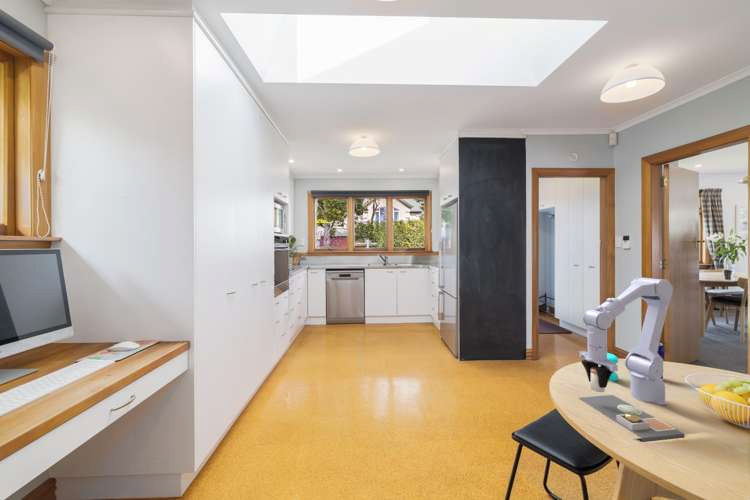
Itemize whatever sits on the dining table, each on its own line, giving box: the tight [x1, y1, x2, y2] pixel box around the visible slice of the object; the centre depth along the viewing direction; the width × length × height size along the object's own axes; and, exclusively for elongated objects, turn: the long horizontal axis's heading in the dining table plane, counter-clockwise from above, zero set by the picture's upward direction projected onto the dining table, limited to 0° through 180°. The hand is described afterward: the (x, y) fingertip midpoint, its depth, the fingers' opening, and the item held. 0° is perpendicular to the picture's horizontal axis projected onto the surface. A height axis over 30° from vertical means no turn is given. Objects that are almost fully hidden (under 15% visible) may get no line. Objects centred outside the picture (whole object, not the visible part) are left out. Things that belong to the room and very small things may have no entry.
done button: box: [625, 412, 640, 423], centre depth 102 cm, size 4×4×2 cm
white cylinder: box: [590, 367, 606, 393], centre depth 115 cm, size 4×4×7 cm
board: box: [578, 394, 686, 443], centre depth 108 cm, size 14×25×3 cm, turn 7°
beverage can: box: [646, 342, 664, 380], centre depth 138 cm, size 5×5×15 cm
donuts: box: [607, 352, 619, 383], centre depth 139 cm, size 10×10×10 cm
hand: (597, 384), depth 115 cm, fingers closed on white cylinder, 4 cm apart
